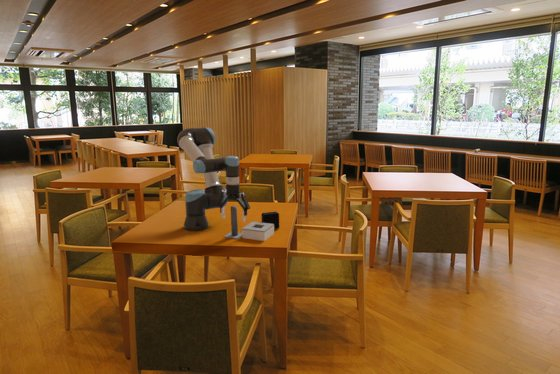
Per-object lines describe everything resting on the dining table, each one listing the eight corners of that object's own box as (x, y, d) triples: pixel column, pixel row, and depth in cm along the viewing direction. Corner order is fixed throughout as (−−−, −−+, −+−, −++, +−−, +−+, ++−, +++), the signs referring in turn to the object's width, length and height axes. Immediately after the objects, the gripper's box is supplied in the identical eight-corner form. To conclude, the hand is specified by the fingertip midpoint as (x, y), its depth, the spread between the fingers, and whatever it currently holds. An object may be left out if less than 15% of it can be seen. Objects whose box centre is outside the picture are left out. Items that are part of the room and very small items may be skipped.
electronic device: (261, 228, 236) (261, 213, 234) (276, 226, 239) (276, 211, 237) (263, 230, 232) (263, 214, 230) (279, 228, 236) (279, 213, 233)
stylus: (230, 235, 222) (229, 207, 219) (233, 233, 225) (232, 205, 222) (236, 236, 221) (235, 207, 217) (238, 234, 224) (237, 206, 221)
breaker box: (242, 238, 220) (242, 228, 218) (252, 230, 232) (252, 221, 231) (264, 241, 215) (264, 231, 213) (274, 233, 227) (274, 223, 226)
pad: (224, 237, 221) (223, 236, 221) (231, 232, 229) (231, 231, 229) (237, 239, 218) (237, 238, 218) (245, 234, 226) (245, 233, 226)
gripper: (210, 183, 218) (211, 219, 223) (249, 186, 209) (250, 223, 214) (216, 180, 225) (218, 215, 230) (255, 184, 216) (256, 220, 221)
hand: (233, 219), depth 222 cm, fingers open, 13 cm apart
